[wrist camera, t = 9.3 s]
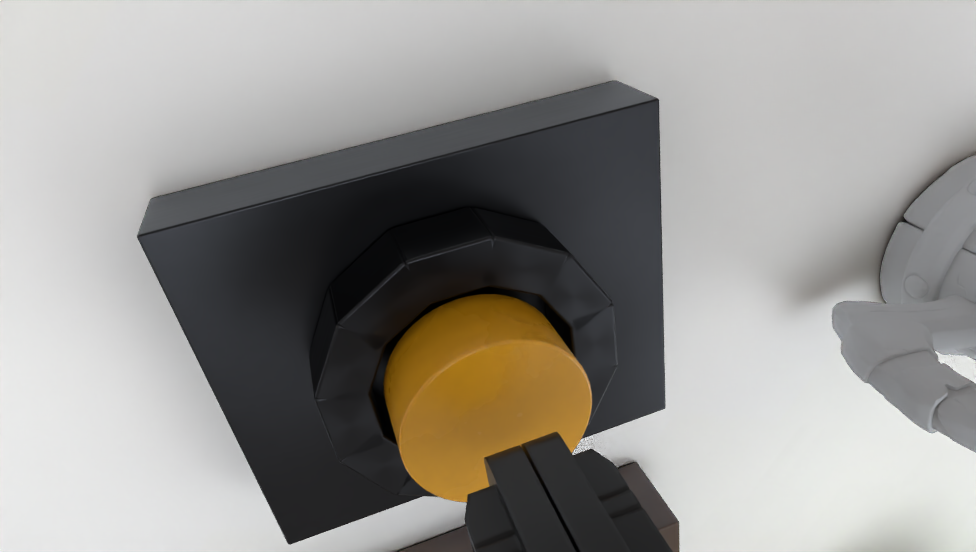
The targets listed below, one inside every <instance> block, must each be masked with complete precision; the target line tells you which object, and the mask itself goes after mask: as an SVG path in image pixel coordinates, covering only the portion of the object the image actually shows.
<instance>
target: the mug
mask: <svg viewBox="0 0 976 552" xmlns="http://www.w3.org/2000/svg"><path fill="white" fill-rule="evenodd" d="M904 218H905V219H906V220H907V221H908V222H909V223H905V222H899V223H898V224H897V227H896V229H895V231H894V233H893V235H892V237H891V239H890V241H889V243H888V246H887V248H886V251H885V254H884V258H883V261H882V265H881V271H880V284H881V291H882V296H883V299H884V300H885V301H887V302H886V304H884V303H875V302H866V301H844V302H840V303H838V304H836V305H835V306H834V307H833V310H832V324H833V328H834V330H835V332H836V333H837V335H838V336H839V338H840V340H841V341H842V343H841V353H842V355H843V357H844V359H845V360H846V362H847V364H848V365H849V367H850V368H851V369H852V371H853V372H854V373H855V374H856V375H857V376H858V377H859V378H860V379H861V380H862V381H863V382H865V383H869V384H870V385H872V386H873V387H874V388H875V389H876V390H877V391H878V392H879V393H881V394H882V395H883V396H884V397H885V399H886V400H887V401H888V402H890V403H891V404H892V405H894V406H895V407H896V408H898V409H899V410H900V411H901V412H902V413H903V414H904V415H905V416H906V417H908V418H909V419H910V420H911V421H912V422H914V423H915V424H916V425H918V426H919V427H921V428H922V429H924V430H926V431H928V432H929V433H935V432H937V431H939V432H940V433H942V434H944V435H946V436H948V437H950V439H952V440H953V441H955V442H957V443H958V444H960V445H962V446H964V447H966V448H968V449H970V450H972V451H974V452H976V384H975V383H974V382H972V381H971V380H969V379H967V378H965V377H963V376H961V375H960V374H958V373H957V372H956V371H954V370H953V369H952V368H950V367H949V366H948V365H946V364H941V363H940V362H939V361H938V356H937V354H936V353H935V351H937V352H939V353H941V354H944V355H949V354H951V355H966V356H968V357H970V358H972V359H974V360H976V155H973V156H971V157H969V158H966V159H964V160H963V161H961V162H959V163H958V164H956V165H954V166H952V167H951V168H950V169H949V170H948V171H947V172H946V173H945V174H943V175H942V176H941V177H940V178H938V179H937V180H936V181H935V182H933V183H932V184H931V185H930V186H929V187H928V188H927V189H926V190H925V191H924V192H923V193H922V194H921V195H920V196H919V197H918V198H917V199H916V200H915V201H914V202H913V203H912V204H911V206H910V207H909V208H908V209H907V211H906V212H905V213H904ZM934 350H935V351H934Z"/></svg>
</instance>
